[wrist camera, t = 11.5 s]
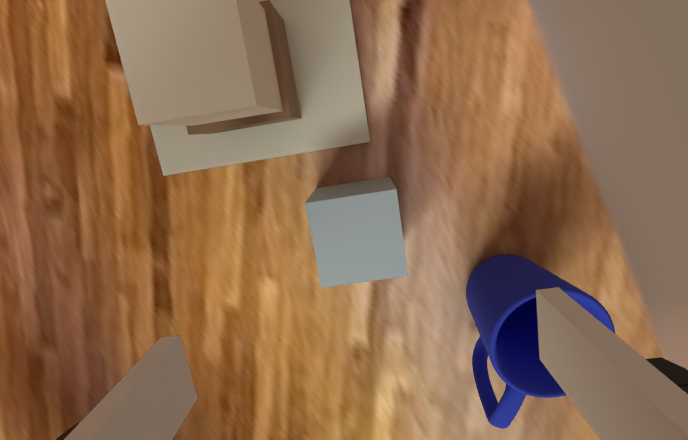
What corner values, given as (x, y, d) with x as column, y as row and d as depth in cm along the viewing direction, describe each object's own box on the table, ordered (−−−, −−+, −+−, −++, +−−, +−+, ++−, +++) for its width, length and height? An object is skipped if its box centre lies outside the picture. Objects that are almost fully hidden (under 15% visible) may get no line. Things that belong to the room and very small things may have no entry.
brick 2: (328, 257, 36) (321, 287, 29) (316, 188, 34) (305, 203, 28) (399, 247, 35) (408, 275, 29) (389, 176, 34) (396, 189, 27)
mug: (425, 344, 37) (448, 421, 28) (477, 230, 35) (523, 271, 25) (504, 371, 38) (554, 457, 28) (562, 261, 35) (640, 313, 25)
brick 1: (193, 125, 28) (138, 125, 21) (170, 27, 26) (103, -9, 19) (282, 111, 27) (256, 105, 20) (264, 9, 26) (229, -33, 19)
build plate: (168, 174, 35) (163, 175, 34) (127, 16, 32) (119, 13, 31) (369, 141, 33) (370, 141, 32) (345, -27, 30) (344, -33, 29)
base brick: (214, 133, 33) (188, 134, 28) (191, 37, 31) (160, 21, 26) (301, 118, 32) (291, 116, 27) (283, 20, 30) (269, 0, 25)
